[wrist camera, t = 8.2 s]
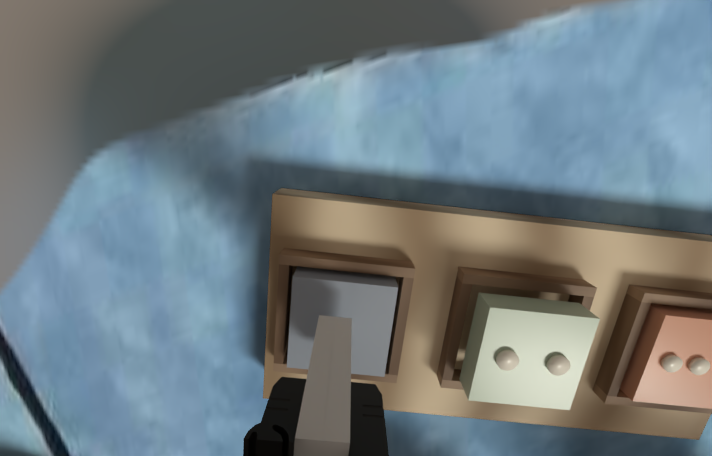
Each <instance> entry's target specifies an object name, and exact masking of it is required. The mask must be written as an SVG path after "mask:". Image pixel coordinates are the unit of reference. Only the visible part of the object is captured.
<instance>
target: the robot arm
mask: <svg viewBox="0 0 712 456" xmlns="http://www.w3.org/2000/svg"><path fill="white" fill-rule="evenodd" d="M351 331H352V318H344V317H333V316H323V315H319V318H318V323H317V328H316V333H315V338H314V343H313V348H312V353H311V359H310V364H309V369H308V374H307V379H302V378H291V377H281V378H280V379H279V380H278V381H277V382H276V383H275V384H274V385H273V387H272V390H271V393H270V396H269V400H268V403H267V406H266V409H265V412H264V415H263V418H262V421H261V423H259V424H257V425H255V426H254V427H253V428H251V429H250V430H249V431H248V433H247V434H246V436H245V438H244V454H243V456H389V455H388V445H387V436H386V427H385V418H384V409H383V399H382V394H381V392H380V391H379V389H378V387H377V386H376V384H368V383H357V382H351Z"/></svg>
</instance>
